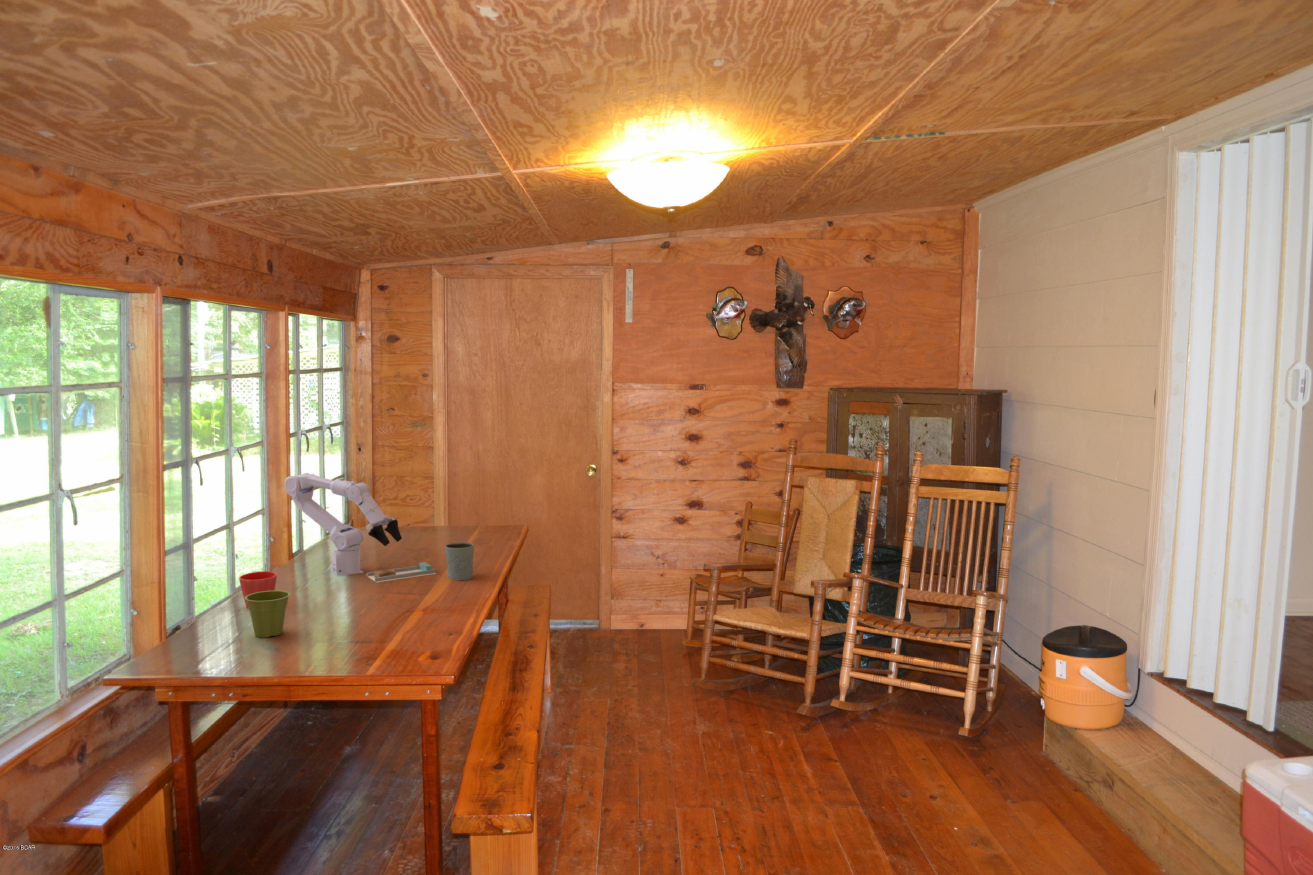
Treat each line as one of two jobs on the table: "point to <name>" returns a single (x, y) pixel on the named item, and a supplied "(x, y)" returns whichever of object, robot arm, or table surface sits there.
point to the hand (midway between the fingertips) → (393, 542)
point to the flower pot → (257, 583)
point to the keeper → (384, 573)
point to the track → (405, 572)
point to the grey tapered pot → (459, 560)
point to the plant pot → (268, 612)
